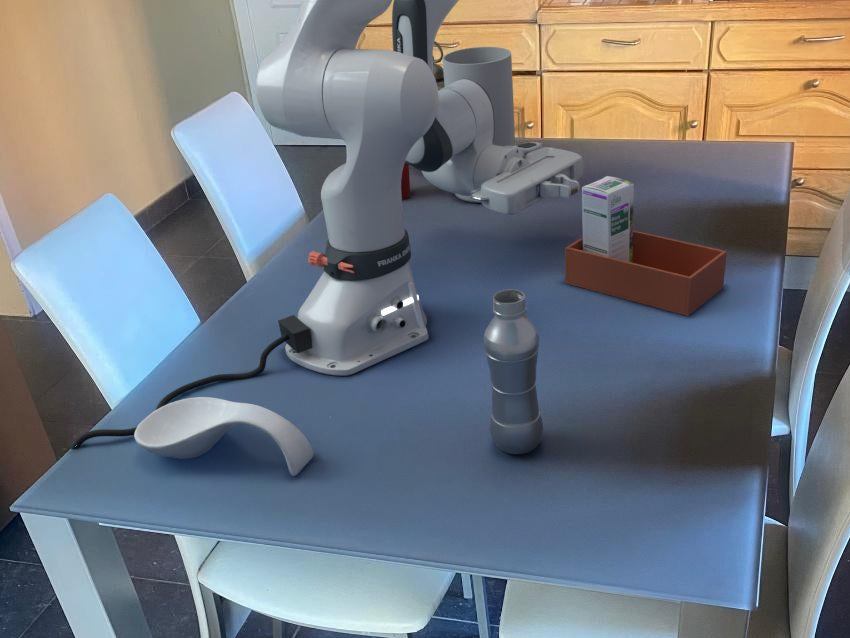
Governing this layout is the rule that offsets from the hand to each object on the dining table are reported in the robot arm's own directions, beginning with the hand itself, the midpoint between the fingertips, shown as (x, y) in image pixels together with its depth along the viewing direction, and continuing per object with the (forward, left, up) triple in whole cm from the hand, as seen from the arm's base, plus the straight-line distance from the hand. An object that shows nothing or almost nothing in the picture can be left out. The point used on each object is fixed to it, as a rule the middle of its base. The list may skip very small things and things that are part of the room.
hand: (574, 189), depth 146 cm
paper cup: (+10, +50, -13) cm, 53 cm away
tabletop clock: (+26, +52, -13) cm, 60 cm away
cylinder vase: (+20, +35, -13) cm, 42 cm away
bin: (0, -13, -13) cm, 18 cm away
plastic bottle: (-46, -23, -13) cm, 53 cm away
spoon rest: (-68, +7, -13) cm, 69 cm away
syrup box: (0, -6, -13) cm, 14 cm away
